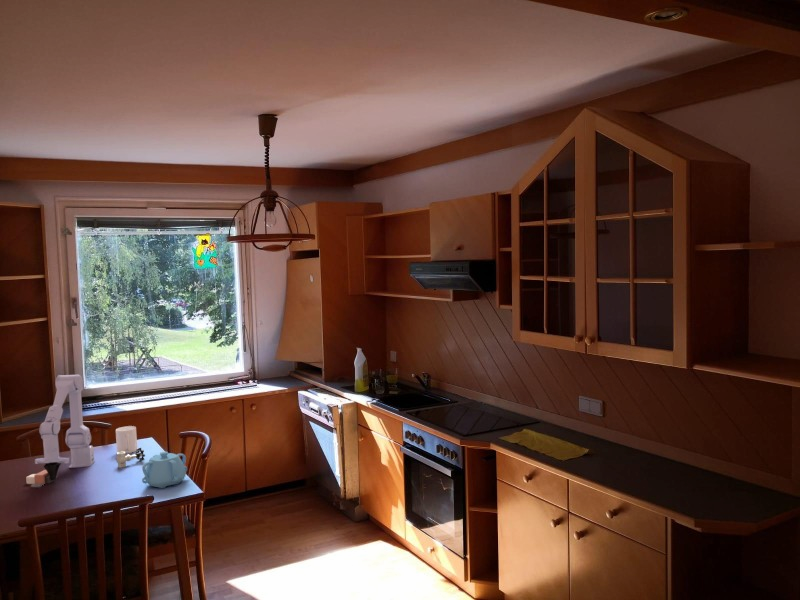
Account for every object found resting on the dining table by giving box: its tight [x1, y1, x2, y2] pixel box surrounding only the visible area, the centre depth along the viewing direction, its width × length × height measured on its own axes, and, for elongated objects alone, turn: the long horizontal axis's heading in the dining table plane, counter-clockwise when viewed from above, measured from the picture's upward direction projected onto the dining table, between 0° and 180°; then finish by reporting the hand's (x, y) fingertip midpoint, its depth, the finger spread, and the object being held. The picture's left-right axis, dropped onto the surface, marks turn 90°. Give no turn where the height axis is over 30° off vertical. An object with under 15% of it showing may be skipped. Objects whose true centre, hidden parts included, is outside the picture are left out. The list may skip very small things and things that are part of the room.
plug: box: [26, 473, 54, 485], centre depth 289 cm, size 10×4×3 cm, turn 85°
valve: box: [116, 447, 146, 469], centre depth 310 cm, size 7×7×12 cm
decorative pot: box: [141, 451, 188, 489], centre depth 280 cm, size 16×16×14 cm
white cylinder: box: [115, 425, 138, 455], centre depth 330 cm, size 10×12×12 cm
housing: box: [30, 469, 58, 488], centre depth 289 cm, size 4×13×4 cm, turn 175°
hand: (53, 479), depth 288 cm, fingers closed
